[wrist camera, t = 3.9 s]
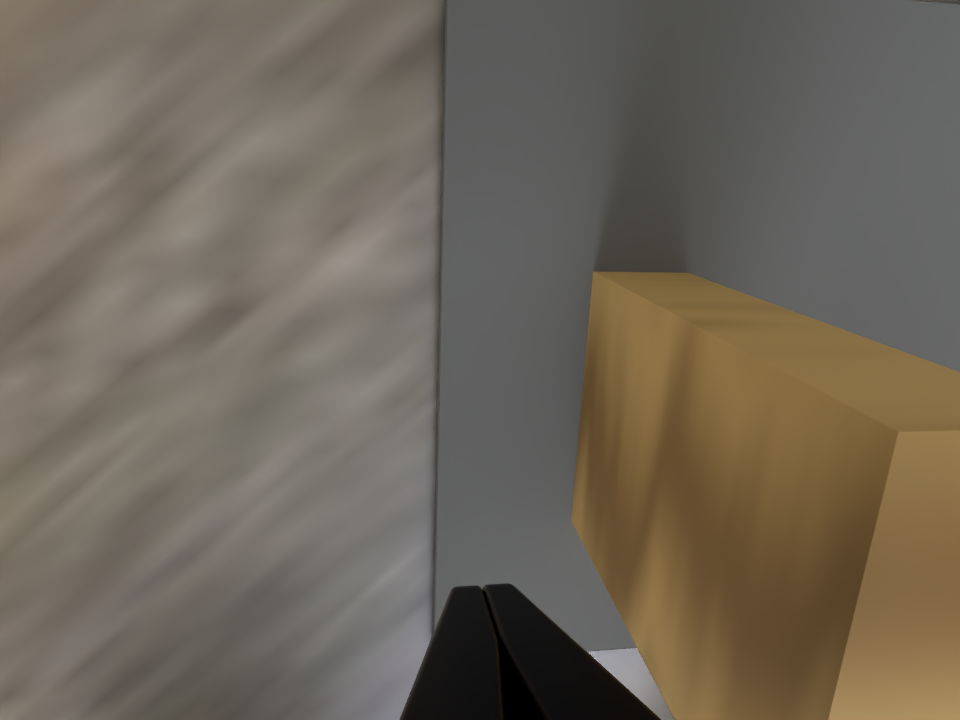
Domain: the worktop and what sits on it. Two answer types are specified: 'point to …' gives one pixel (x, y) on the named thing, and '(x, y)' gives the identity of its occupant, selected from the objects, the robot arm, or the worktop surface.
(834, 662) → the ochre block
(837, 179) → the rubber mat
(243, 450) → the worktop surface
